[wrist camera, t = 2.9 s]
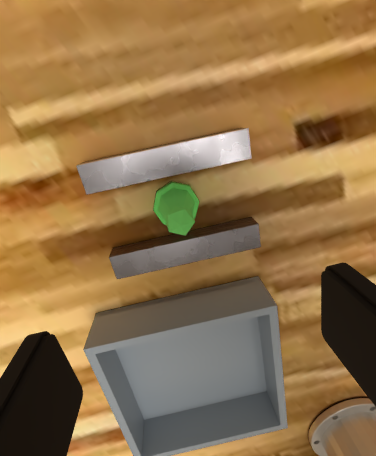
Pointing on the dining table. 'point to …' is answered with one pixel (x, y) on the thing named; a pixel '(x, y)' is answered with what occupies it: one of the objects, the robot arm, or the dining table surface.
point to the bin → (192, 368)
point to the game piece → (176, 207)
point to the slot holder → (164, 167)
